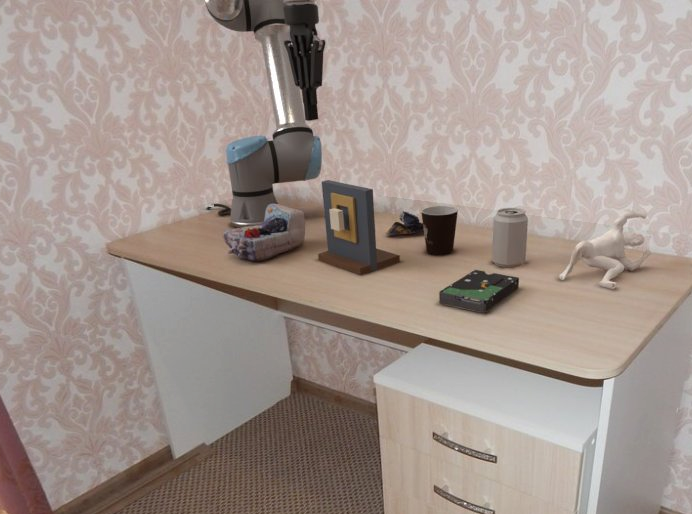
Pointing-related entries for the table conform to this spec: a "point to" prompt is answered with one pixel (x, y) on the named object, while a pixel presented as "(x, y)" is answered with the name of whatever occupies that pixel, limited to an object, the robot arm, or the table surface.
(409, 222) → the snack package
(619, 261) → the person figurine
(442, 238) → the coffee mug
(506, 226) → the can
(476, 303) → the disk drive
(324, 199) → the switch wall
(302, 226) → the cell model
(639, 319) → the table surface
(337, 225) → the switch paddle
